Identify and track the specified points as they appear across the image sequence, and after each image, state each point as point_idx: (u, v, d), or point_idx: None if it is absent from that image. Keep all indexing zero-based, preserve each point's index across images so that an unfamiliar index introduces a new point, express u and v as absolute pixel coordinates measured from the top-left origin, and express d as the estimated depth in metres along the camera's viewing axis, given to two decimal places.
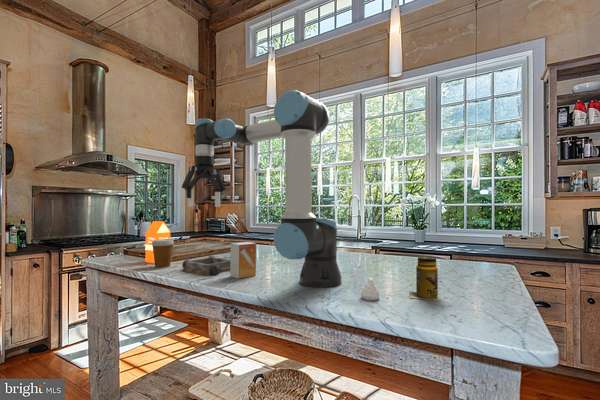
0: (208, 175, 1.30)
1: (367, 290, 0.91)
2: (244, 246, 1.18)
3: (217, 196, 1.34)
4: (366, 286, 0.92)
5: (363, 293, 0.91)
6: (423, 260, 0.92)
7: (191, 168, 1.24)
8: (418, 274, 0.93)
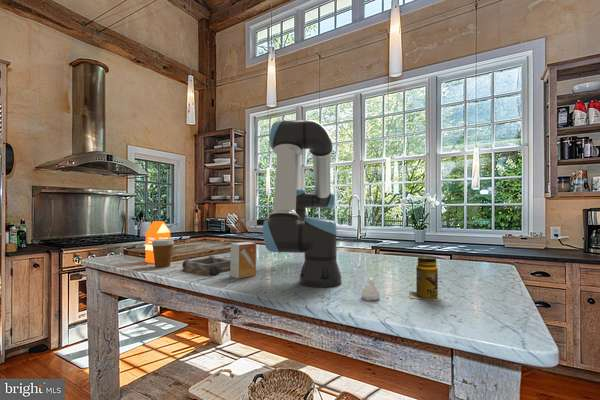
0: None
1: (367, 290, 0.91)
2: (244, 246, 1.18)
3: None
4: (366, 286, 0.92)
5: (363, 293, 0.91)
6: (423, 260, 0.92)
7: None
8: (418, 274, 0.93)
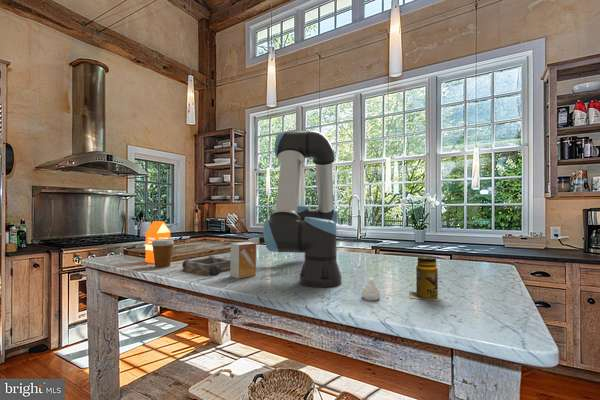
0: None
1: (368, 290, 0.91)
2: (244, 246, 1.18)
3: None
4: (367, 286, 0.92)
5: (364, 293, 0.91)
6: (423, 260, 0.92)
7: None
8: (418, 274, 0.93)
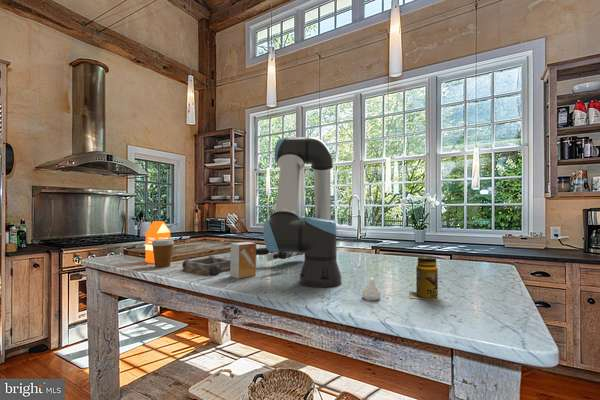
0: None
1: (368, 290, 0.91)
2: (244, 246, 1.18)
3: None
4: (367, 286, 0.92)
5: (364, 293, 0.91)
6: (423, 260, 0.92)
7: None
8: (418, 274, 0.93)
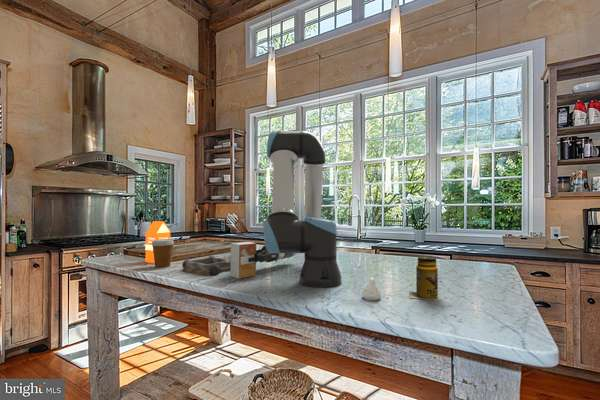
0: None
1: (368, 290, 0.91)
2: (244, 246, 1.18)
3: None
4: (367, 286, 0.92)
5: (364, 293, 0.91)
6: (423, 260, 0.92)
7: None
8: (418, 274, 0.93)
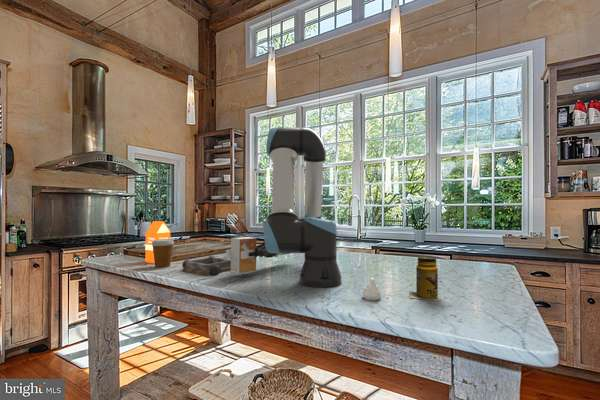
0: None
1: (369, 290, 0.91)
2: (244, 240, 1.18)
3: None
4: (368, 286, 0.92)
5: (365, 293, 0.91)
6: (423, 260, 0.92)
7: None
8: (418, 274, 0.93)
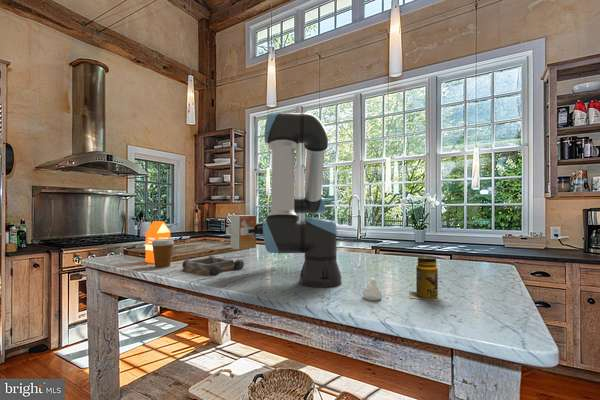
0: None
1: (369, 290, 0.91)
2: (244, 217, 1.18)
3: None
4: (368, 286, 0.92)
5: (365, 293, 0.91)
6: (423, 260, 0.92)
7: None
8: (418, 274, 0.93)
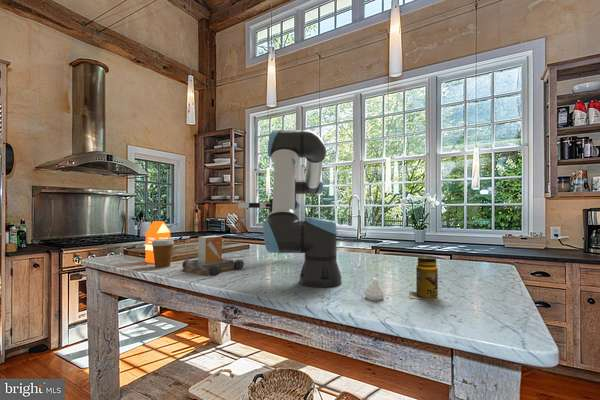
0: None
1: (371, 290, 0.91)
2: (210, 238, 1.29)
3: None
4: (370, 286, 0.92)
5: (367, 293, 0.91)
6: (423, 260, 0.92)
7: None
8: (418, 274, 0.93)
